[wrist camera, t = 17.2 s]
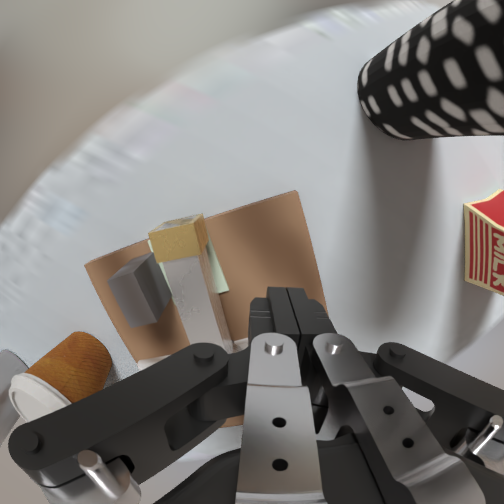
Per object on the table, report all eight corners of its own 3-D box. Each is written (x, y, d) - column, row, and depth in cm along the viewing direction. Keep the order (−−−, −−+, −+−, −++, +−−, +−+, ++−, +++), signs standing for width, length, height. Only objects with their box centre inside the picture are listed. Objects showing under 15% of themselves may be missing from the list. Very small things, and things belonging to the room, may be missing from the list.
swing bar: (251, 371, 24) (251, 399, 20) (209, 376, 24) (205, 404, 21) (209, 211, 20) (201, 221, 16) (159, 222, 20) (141, 234, 16)
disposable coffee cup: (125, 336, 26) (75, 417, 14) (124, 392, 28) (92, 464, 17) (55, 307, 25) (-7, 366, 13) (63, 365, 28) (20, 424, 16)
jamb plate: (188, 424, 30) (181, 459, 24) (90, 261, 23) (55, 285, 17) (341, 392, 28) (354, 429, 23) (294, 190, 22) (311, 198, 16)
